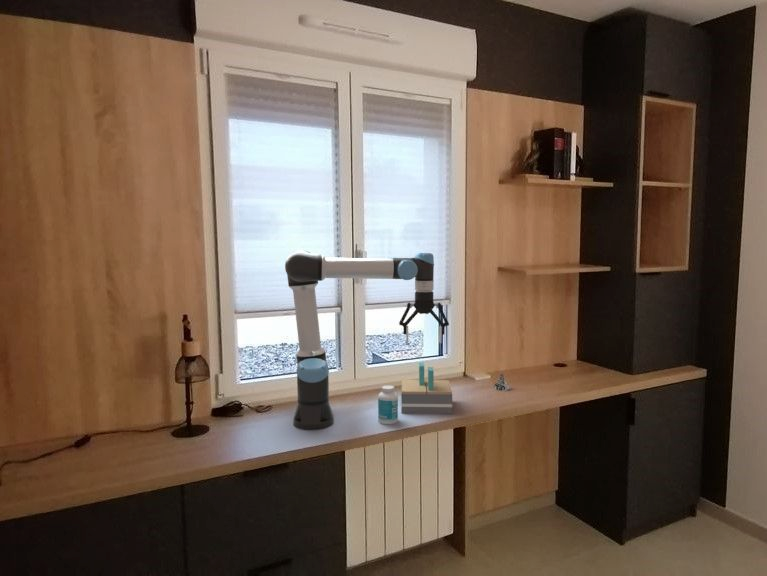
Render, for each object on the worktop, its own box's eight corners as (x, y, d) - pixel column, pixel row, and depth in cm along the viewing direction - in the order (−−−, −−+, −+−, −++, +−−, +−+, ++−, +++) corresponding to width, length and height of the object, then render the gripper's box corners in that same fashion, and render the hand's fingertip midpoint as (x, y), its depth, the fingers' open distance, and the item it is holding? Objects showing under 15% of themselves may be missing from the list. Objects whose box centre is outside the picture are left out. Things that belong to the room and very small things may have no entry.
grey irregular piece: (483, 389, 233) (483, 372, 233) (496, 386, 238) (497, 370, 237) (497, 394, 226) (498, 377, 225) (511, 391, 231) (511, 374, 230)
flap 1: (401, 393, 200) (401, 371, 199) (402, 382, 216) (402, 361, 215) (426, 394, 199) (426, 371, 198) (424, 382, 215) (424, 361, 214)
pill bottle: (395, 426, 187) (395, 390, 186) (376, 424, 189) (376, 389, 188) (399, 419, 195) (399, 384, 193) (380, 417, 196) (380, 383, 195)
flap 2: (427, 394, 199) (427, 371, 198) (425, 382, 215) (425, 361, 214) (451, 394, 199) (452, 371, 198) (448, 382, 215) (448, 361, 214)
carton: (401, 413, 200) (401, 394, 200) (401, 400, 216) (401, 382, 216) (452, 414, 200) (452, 394, 199) (448, 401, 216) (448, 382, 215)
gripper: (393, 291, 203) (393, 343, 205) (455, 292, 201) (455, 344, 204) (393, 289, 210) (393, 340, 212) (454, 290, 209) (453, 340, 211)
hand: (423, 342), depth 208 cm, fingers open, 13 cm apart
